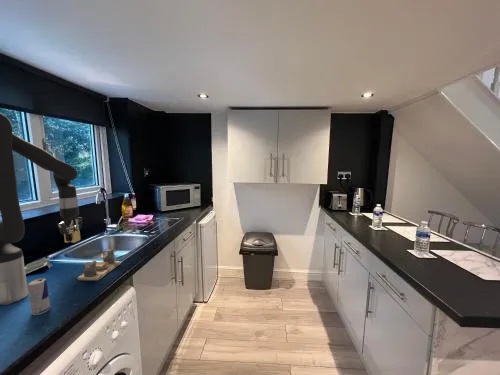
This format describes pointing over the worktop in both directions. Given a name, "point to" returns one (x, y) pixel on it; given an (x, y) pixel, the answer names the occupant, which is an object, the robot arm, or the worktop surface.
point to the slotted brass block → (74, 236)
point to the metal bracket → (37, 265)
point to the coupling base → (100, 273)
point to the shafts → (102, 256)
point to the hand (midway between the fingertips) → (72, 239)
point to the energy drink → (38, 296)
